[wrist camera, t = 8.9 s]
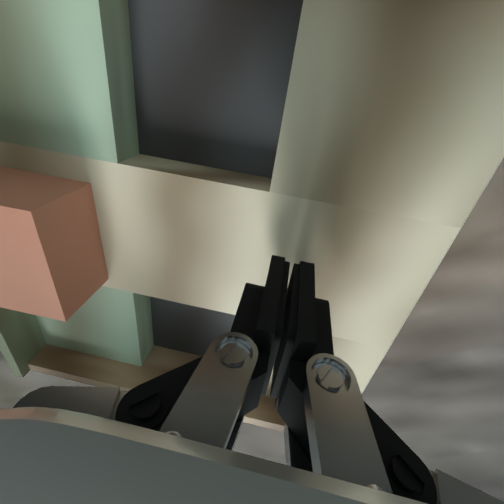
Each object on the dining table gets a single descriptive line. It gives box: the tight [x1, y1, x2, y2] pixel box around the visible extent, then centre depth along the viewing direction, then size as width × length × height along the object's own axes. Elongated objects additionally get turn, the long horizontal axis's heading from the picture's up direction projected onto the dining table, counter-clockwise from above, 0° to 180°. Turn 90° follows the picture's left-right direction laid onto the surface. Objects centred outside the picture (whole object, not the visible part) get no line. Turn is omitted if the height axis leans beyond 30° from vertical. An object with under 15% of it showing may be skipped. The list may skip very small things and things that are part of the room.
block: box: [0, 166, 108, 322], centre depth 12 cm, size 5×5×3 cm
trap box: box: [0, 0, 504, 432], centre depth 13 cm, size 20×20×4 cm
